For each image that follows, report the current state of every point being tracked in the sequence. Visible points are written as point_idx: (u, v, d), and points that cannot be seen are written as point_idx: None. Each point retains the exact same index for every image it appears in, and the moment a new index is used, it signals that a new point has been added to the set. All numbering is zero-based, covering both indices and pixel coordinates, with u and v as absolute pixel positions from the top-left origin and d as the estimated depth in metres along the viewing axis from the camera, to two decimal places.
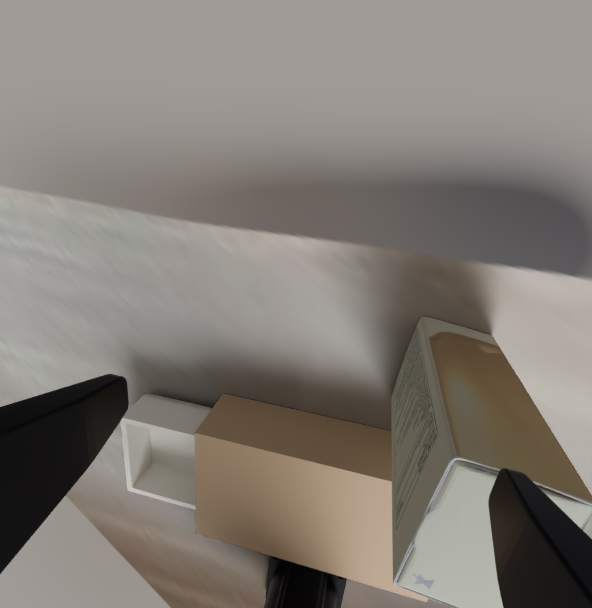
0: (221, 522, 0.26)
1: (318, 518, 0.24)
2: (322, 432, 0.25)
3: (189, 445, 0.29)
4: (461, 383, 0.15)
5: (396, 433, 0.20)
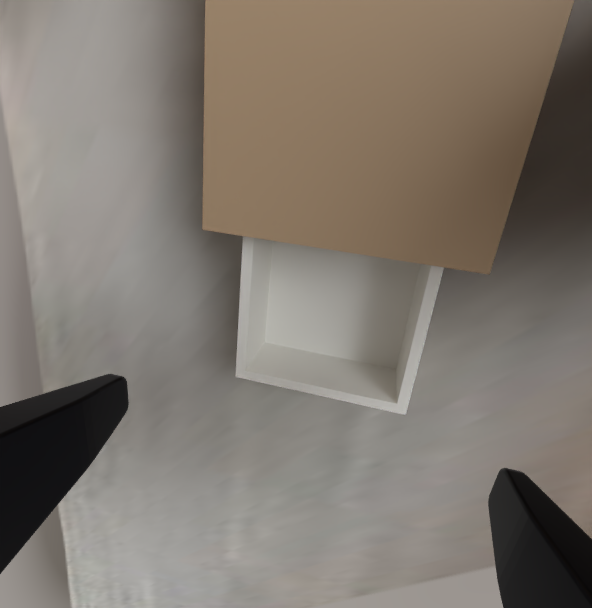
0: (440, 198, 0.11)
1: None
2: None
3: (345, 287, 0.16)
4: None
5: None
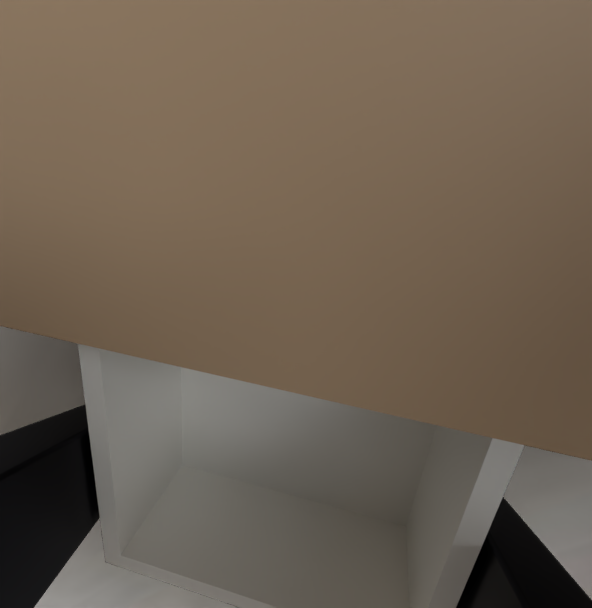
0: (564, 267, 0.03)
1: None
2: None
3: None
4: None
5: None
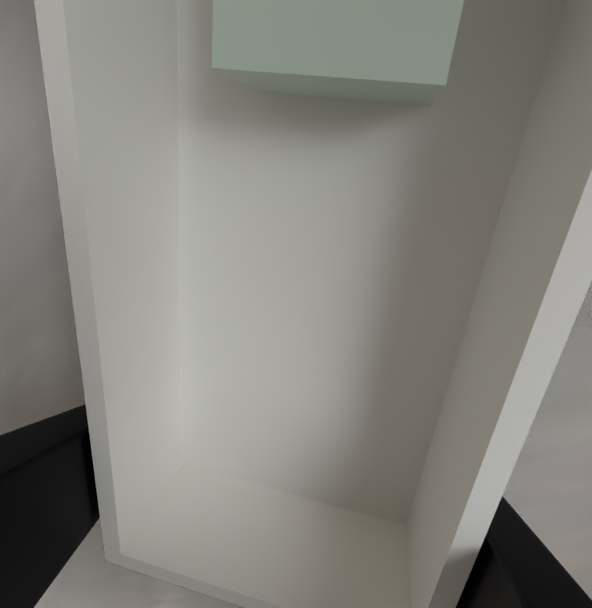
0: None
1: None
2: None
3: (313, 387, 0.09)
4: None
5: None
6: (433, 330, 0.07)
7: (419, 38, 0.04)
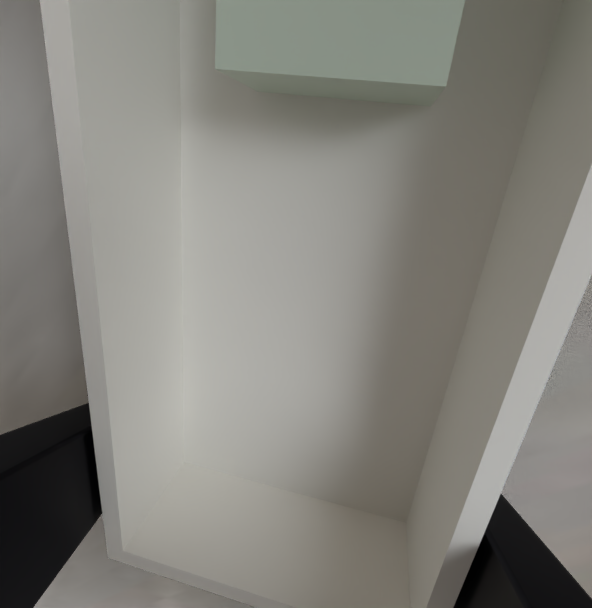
0: None
1: None
2: None
3: (314, 386, 0.09)
4: None
5: None
6: (433, 329, 0.07)
7: (420, 40, 0.04)
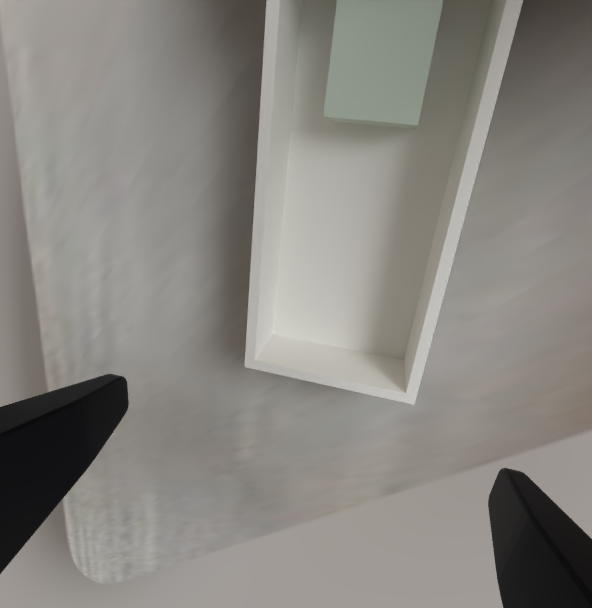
0: None
1: None
2: None
3: (353, 278, 0.16)
4: None
5: None
6: (417, 241, 0.15)
7: (407, 107, 0.12)
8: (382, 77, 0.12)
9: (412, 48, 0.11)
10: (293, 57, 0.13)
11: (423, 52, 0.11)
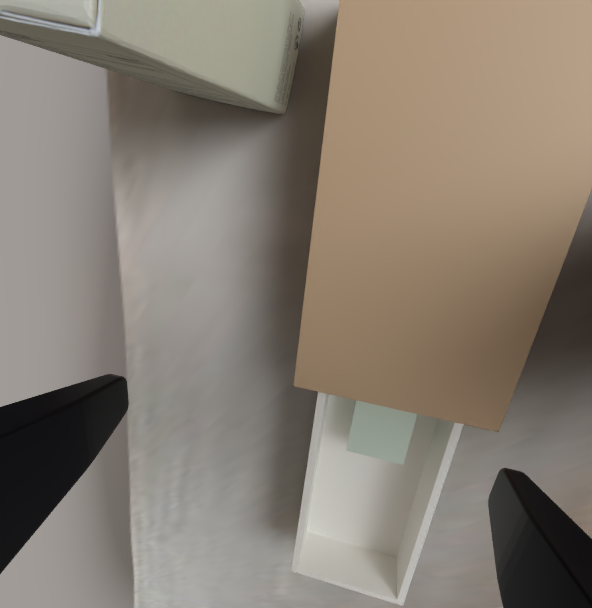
0: (465, 384, 0.16)
1: (432, 217, 0.14)
2: None
3: (363, 509, 0.24)
4: None
5: (218, 93, 0.13)
6: (404, 496, 0.23)
7: (397, 456, 0.20)
8: (382, 440, 0.20)
9: (399, 431, 0.19)
10: (327, 402, 0.21)
11: (405, 434, 0.19)
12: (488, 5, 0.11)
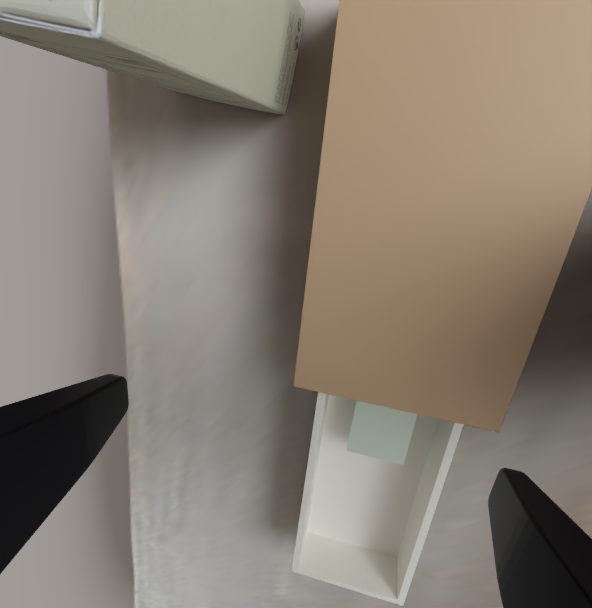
0: (465, 384, 0.16)
1: (432, 217, 0.14)
2: None
3: (363, 509, 0.24)
4: None
5: (218, 94, 0.13)
6: (404, 496, 0.23)
7: (397, 456, 0.20)
8: (382, 440, 0.20)
9: (399, 432, 0.19)
10: (327, 402, 0.21)
11: (406, 434, 0.19)
12: (488, 5, 0.11)
